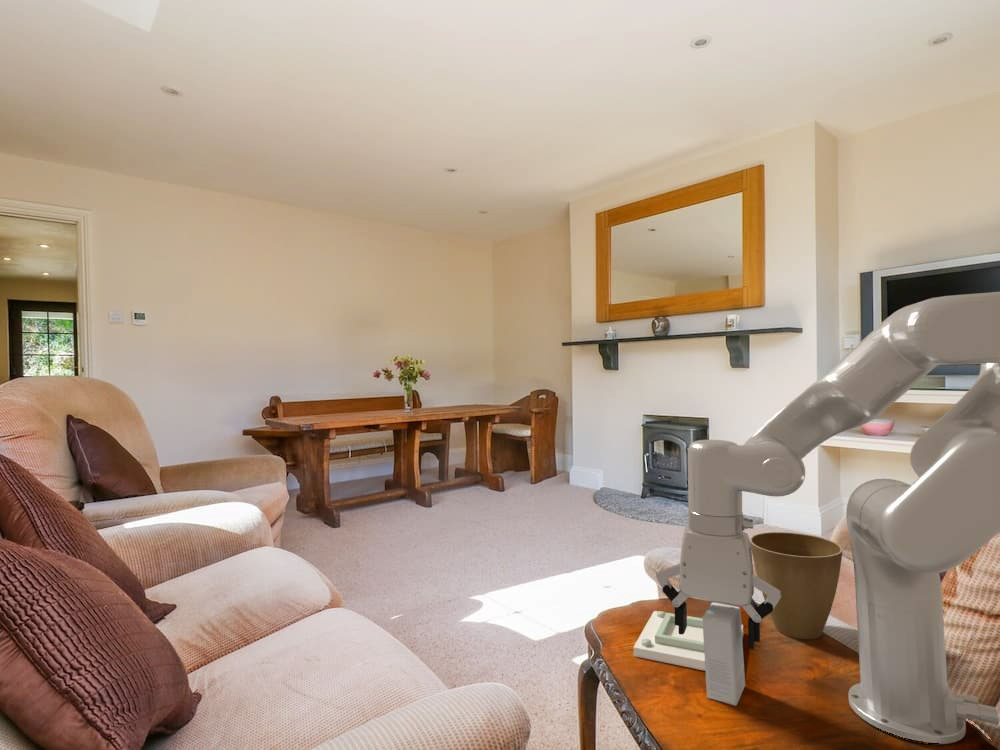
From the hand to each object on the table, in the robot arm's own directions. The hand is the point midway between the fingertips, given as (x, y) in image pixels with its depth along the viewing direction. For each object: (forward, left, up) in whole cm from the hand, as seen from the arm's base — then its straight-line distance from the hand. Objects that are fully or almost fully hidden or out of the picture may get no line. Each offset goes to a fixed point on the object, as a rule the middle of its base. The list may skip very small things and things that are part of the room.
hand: (716, 637), depth 79 cm
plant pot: (-11, -26, -8) cm, 29 cm away
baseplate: (+6, -13, -8) cm, 16 cm away
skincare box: (-1, 0, -8) cm, 8 cm away
